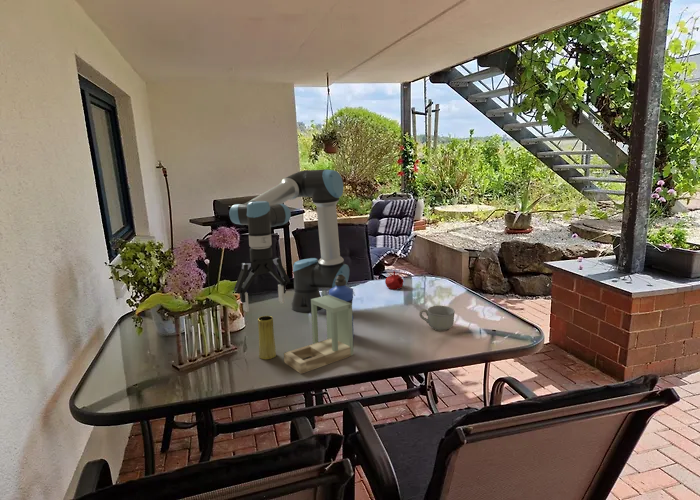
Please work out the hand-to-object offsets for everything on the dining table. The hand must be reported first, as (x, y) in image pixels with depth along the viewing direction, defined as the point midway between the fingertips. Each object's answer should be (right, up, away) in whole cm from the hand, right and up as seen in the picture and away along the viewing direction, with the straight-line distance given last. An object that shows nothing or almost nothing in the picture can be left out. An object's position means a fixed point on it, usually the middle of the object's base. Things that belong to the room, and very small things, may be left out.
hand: (264, 306), depth 153 cm
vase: (+1, -18, +4) cm, 19 cm away
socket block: (+19, -18, 0) cm, 26 cm away
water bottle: (+27, -14, +20) cm, 36 cm away
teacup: (+66, -12, +27) cm, 72 cm away
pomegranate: (+54, -1, +85) cm, 101 cm away
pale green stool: (+24, -17, +6) cm, 30 cm away
